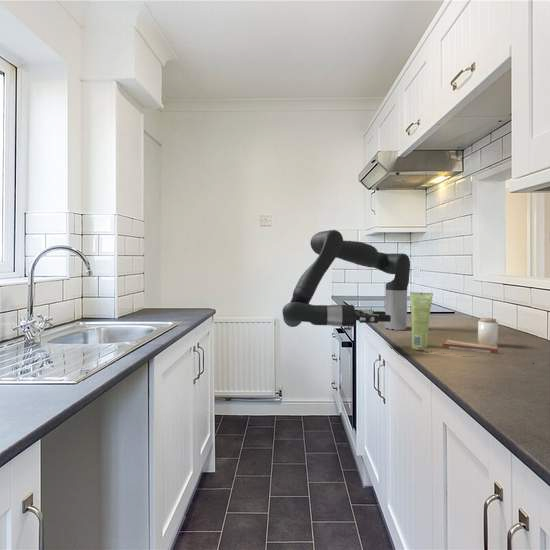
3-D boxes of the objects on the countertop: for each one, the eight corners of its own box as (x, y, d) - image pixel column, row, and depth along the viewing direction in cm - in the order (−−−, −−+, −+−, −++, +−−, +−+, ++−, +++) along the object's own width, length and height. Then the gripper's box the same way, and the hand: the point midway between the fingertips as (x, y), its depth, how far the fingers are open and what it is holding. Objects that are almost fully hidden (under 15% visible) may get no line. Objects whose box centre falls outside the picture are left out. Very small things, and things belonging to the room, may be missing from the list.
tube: (419, 346, 135) (420, 291, 134) (431, 349, 131) (433, 292, 130) (408, 348, 132) (409, 291, 132) (420, 351, 128) (421, 293, 127)
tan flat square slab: (447, 342, 142) (447, 336, 142) (497, 347, 134) (497, 341, 134) (442, 351, 129) (442, 343, 129) (497, 357, 121) (497, 349, 121)
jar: (478, 342, 138) (478, 317, 137) (497, 343, 135) (498, 318, 134) (477, 345, 132) (478, 319, 132) (497, 347, 129) (498, 320, 129)
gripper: (342, 307, 126) (392, 308, 125) (338, 302, 140) (383, 303, 139) (341, 330, 126) (392, 331, 125) (338, 322, 140) (383, 323, 139)
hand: (387, 316), depth 132 cm, fingers open, 8 cm apart
